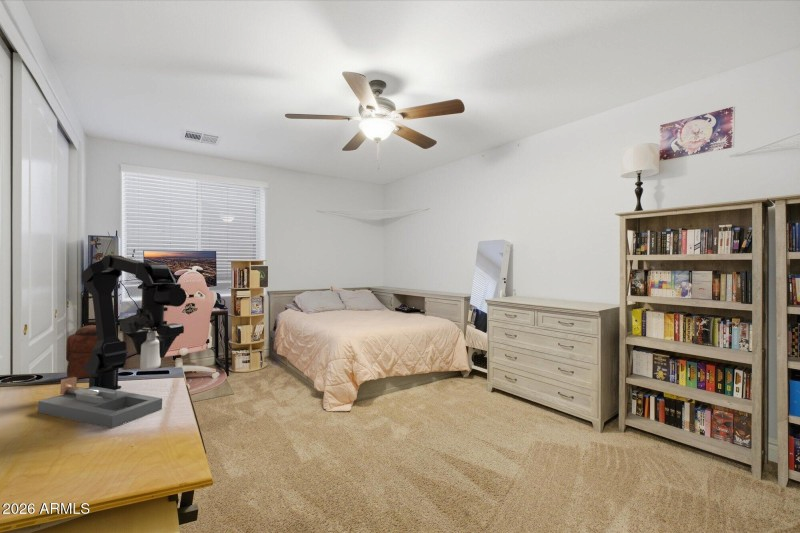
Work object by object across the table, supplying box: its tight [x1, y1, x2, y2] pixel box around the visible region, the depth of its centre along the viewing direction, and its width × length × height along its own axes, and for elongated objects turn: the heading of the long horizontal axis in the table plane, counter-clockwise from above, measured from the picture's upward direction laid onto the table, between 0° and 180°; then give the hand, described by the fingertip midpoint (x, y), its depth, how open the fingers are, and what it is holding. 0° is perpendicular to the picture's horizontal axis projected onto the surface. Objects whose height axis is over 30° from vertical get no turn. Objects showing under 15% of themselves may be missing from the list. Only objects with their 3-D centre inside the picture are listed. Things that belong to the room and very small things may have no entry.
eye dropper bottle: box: [139, 331, 162, 371], centre depth 110 cm, size 4×6×12 cm
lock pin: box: [60, 377, 101, 396], centre depth 103 cm, size 3×12×4 cm, turn 73°
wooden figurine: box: [65, 324, 97, 379], centre depth 130 cm, size 12×6×18 cm, turn 137°
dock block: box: [37, 386, 163, 429], centre depth 100 cm, size 14×27×4 cm, turn 73°
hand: (150, 356), depth 110 cm, fingers closed on eye dropper bottle, 8 cm apart
